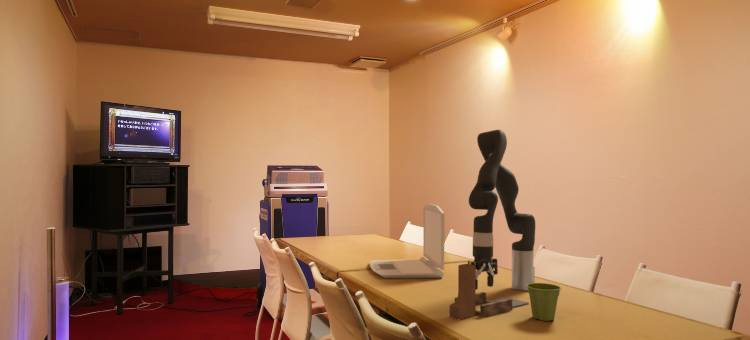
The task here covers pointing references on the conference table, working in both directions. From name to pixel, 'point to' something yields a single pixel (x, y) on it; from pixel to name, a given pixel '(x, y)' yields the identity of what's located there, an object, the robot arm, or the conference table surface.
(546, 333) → the conference table surface
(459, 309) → the wooden block
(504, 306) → the wooden frame
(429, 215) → the laptop
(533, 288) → the plant pot
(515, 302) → the pad
